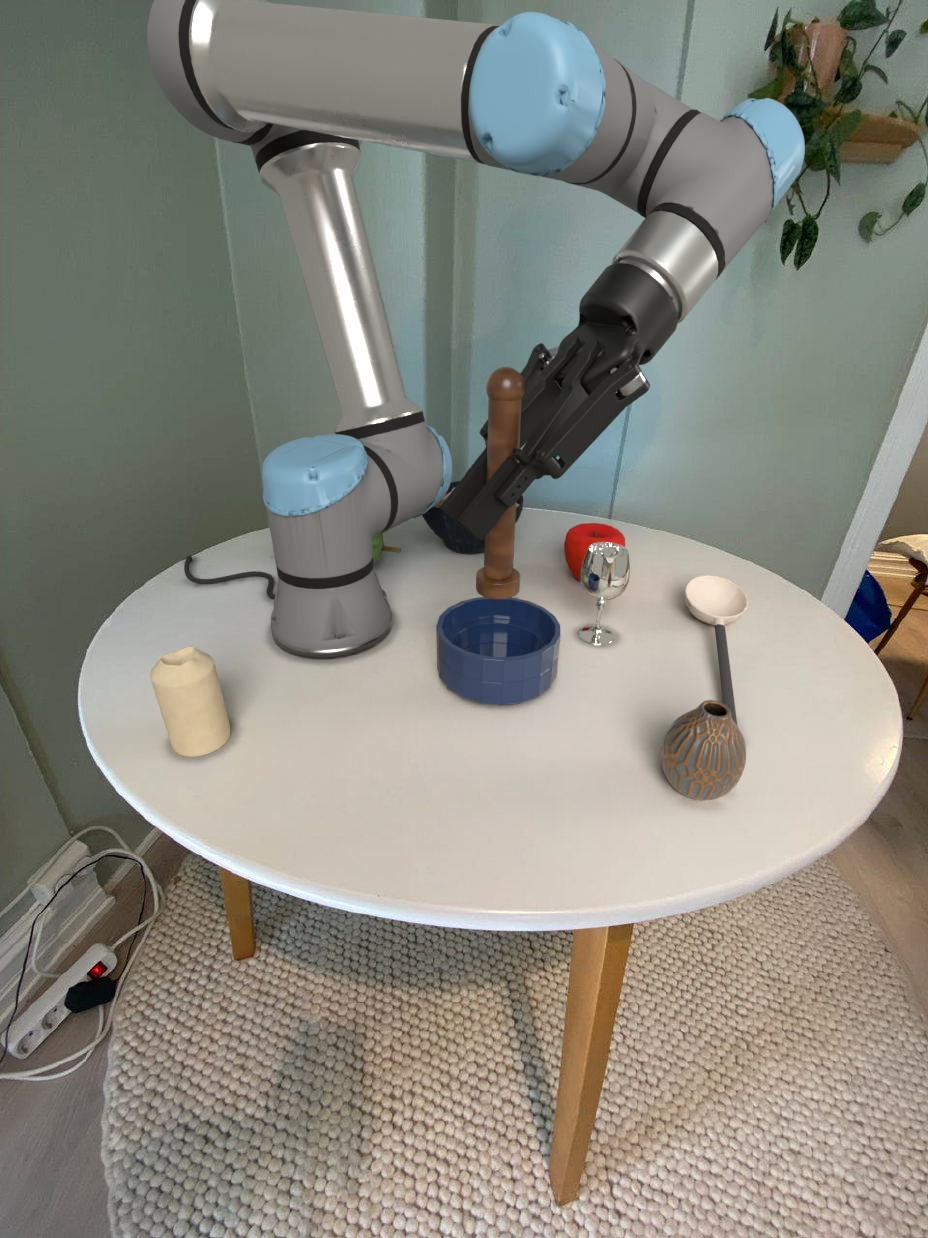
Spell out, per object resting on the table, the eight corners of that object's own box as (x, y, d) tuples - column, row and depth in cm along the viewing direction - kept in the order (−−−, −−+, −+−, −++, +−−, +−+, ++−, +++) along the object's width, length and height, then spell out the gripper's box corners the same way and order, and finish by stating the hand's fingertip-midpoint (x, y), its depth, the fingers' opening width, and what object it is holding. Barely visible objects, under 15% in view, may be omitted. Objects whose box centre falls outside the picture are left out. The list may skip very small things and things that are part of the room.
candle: (212, 713, 63) (191, 632, 58) (242, 735, 60) (222, 652, 55) (161, 740, 59) (133, 656, 54) (190, 766, 56) (164, 679, 51)
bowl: (537, 538, 104) (542, 482, 99) (488, 575, 91) (490, 513, 86) (455, 519, 112) (455, 466, 107) (399, 550, 99) (396, 492, 94)
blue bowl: (416, 689, 67) (414, 640, 63) (468, 632, 77) (468, 587, 74) (531, 724, 62) (536, 673, 58) (570, 658, 72) (575, 611, 69)
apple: (621, 593, 87) (629, 543, 83) (560, 588, 88) (565, 539, 84) (617, 567, 94) (625, 520, 90) (561, 563, 95) (566, 516, 92)
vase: (682, 820, 51) (704, 742, 47) (641, 764, 57) (657, 690, 52) (751, 804, 53) (778, 727, 48) (704, 751, 58) (725, 678, 54)
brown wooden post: (468, 593, 54) (471, 368, 45) (486, 576, 58) (493, 362, 48) (509, 603, 53) (521, 372, 43) (525, 585, 56) (540, 365, 46)
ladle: (737, 599, 84) (746, 573, 82) (760, 771, 61) (774, 743, 58) (679, 590, 86) (686, 565, 83) (680, 754, 63) (690, 726, 60)
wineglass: (619, 650, 74) (634, 562, 68) (572, 645, 75) (582, 557, 69) (618, 626, 79) (632, 542, 72) (574, 622, 80) (584, 538, 73)
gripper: (737, 340, 45) (536, 583, 46) (603, 324, 57) (447, 518, 58) (700, 256, 40) (478, 531, 42) (562, 258, 52) (393, 472, 54)
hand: (460, 523), depth 50 cm, fingers closed on brown wooden post, 3 cm apart
